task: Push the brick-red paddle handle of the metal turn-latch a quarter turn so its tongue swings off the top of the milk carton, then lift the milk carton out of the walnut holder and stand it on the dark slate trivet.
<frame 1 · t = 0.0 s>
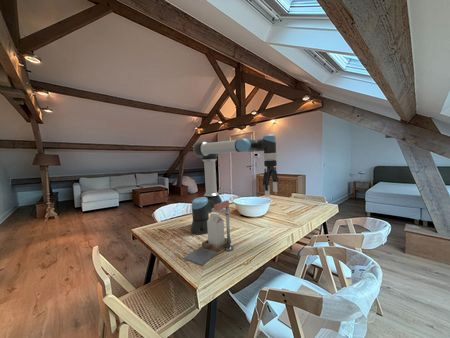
hand: (271, 193, 116), 28 cm above the table, fingers open, 13 cm apart
milk carton: (216, 245, 111), resting in walnut holder
latch key: (217, 225, 104), point 14 cm above the table, hinge at 0.0°
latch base: (229, 248, 106), on the table
slate trivet: (201, 256, 100), on the table
walnut holder: (216, 245, 111), on the table
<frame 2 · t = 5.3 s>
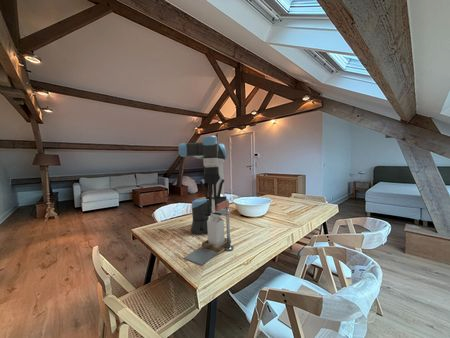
hand: (213, 211, 96), 24 cm above the table, fingers closed
latch key: (217, 225, 104), point 14 cm above the table, hinge at 0.6°, touching gripper
everything else where it was.
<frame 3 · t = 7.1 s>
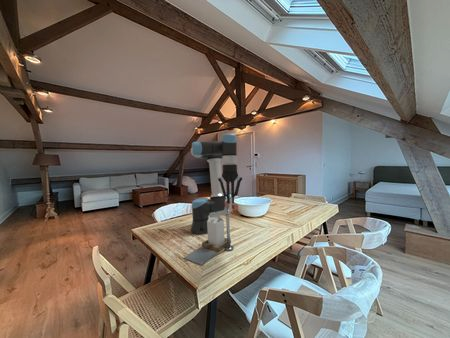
hand: (230, 209, 96), 25 cm above the table, fingers closed
latch key: (224, 228, 99), point 14 cm above the table, hinge at 62.0°, touching gripper
everything else where it was.
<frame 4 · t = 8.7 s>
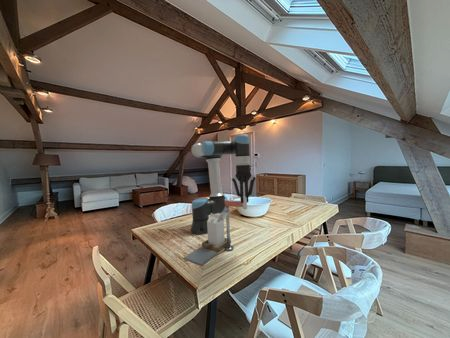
hand: (244, 208, 99), 25 cm above the table, fingers closed
latch key: (233, 227, 99), point 14 cm above the table, hinge at 106.7°, touching gripper
everything else where it was.
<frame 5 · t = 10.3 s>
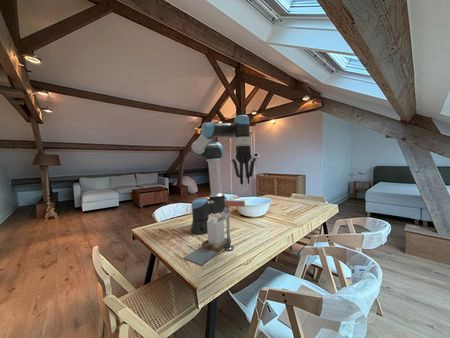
hand: (245, 190, 99), 34 cm above the table, fingers closed
latch key: (233, 227, 100), point 14 cm above the table, hinge at 112.1°
everything else where it was.
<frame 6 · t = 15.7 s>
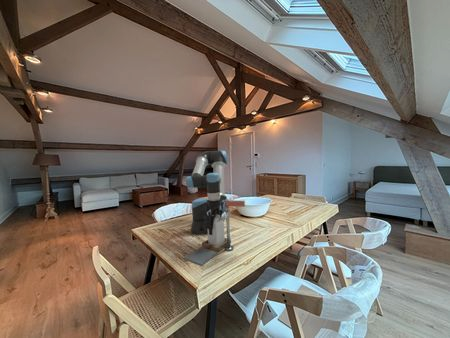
hand: (216, 236, 111), 5 cm above the table, fingers closed on milk carton, 7 cm apart
milk carton: (216, 245, 111), resting in walnut holder, touching gripper
everything else where it was.
when the fingers open (7 cm above the table, at t = 22.9 s): milk carton stays where it is, resting on slate trivet.
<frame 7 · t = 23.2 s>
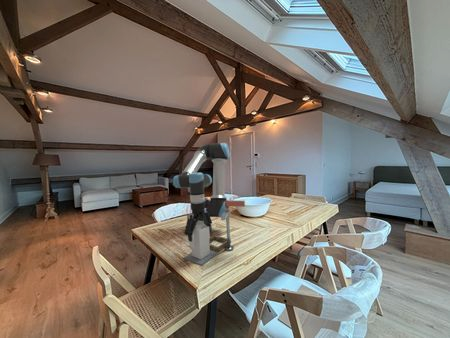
hand: (200, 242, 99), 8 cm above the table, fingers open, 11 cm apart
milk carton: (201, 255, 100), resting on slate trivet
everything else where it was.
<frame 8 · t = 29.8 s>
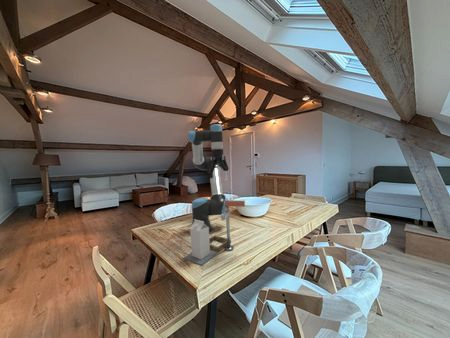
hand: (219, 181, 120), 37 cm above the table, fingers open, 13 cm apart
nothing on the table moved.
at the end: latch key at +112° (first picture: +0°); milk carton inside the target area (0.1 cm from its centre), resting on slate trivet; milk carton tilted 0° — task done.
